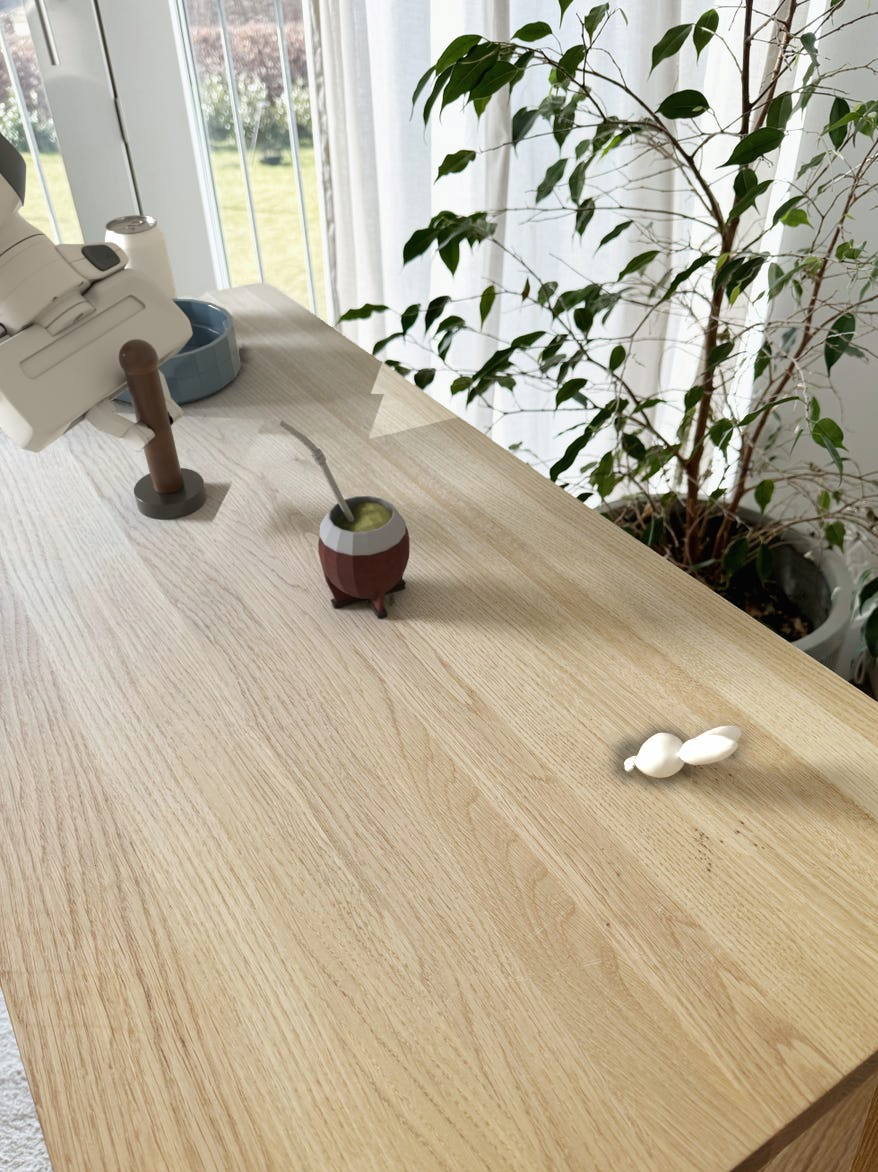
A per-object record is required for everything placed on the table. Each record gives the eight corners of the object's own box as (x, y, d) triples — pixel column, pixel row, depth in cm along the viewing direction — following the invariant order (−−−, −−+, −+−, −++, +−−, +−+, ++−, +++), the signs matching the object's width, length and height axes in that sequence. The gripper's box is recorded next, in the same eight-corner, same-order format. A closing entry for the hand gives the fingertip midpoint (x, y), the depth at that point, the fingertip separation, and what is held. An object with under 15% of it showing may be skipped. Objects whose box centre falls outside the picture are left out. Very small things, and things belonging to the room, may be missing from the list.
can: (116, 335, 118) (89, 231, 110) (142, 313, 123) (119, 211, 115) (166, 341, 117) (143, 236, 109) (191, 318, 121) (171, 216, 114)
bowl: (77, 406, 105) (62, 357, 102) (128, 342, 117) (117, 296, 113) (218, 412, 104) (209, 363, 100) (256, 347, 115) (249, 301, 112)
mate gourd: (425, 608, 80) (417, 444, 70) (332, 636, 78) (310, 470, 68) (391, 558, 85) (379, 397, 75) (302, 583, 83) (277, 420, 73)
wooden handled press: (131, 531, 88) (82, 356, 77) (154, 493, 93) (112, 322, 82) (197, 535, 88) (157, 360, 77) (218, 497, 92) (183, 326, 81)
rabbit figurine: (626, 735, 70) (739, 705, 67) (644, 788, 70) (757, 761, 67) (608, 754, 64) (730, 723, 62) (626, 812, 64) (749, 783, 62)
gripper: (-51, 333, 72) (97, 478, 75) (128, 235, 86) (245, 361, 89) (-75, 379, 76) (65, 514, 80) (99, 279, 90) (212, 398, 94)
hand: (162, 433), depth 85 cm, fingers closed on wooden handled press, 3 cm apart
